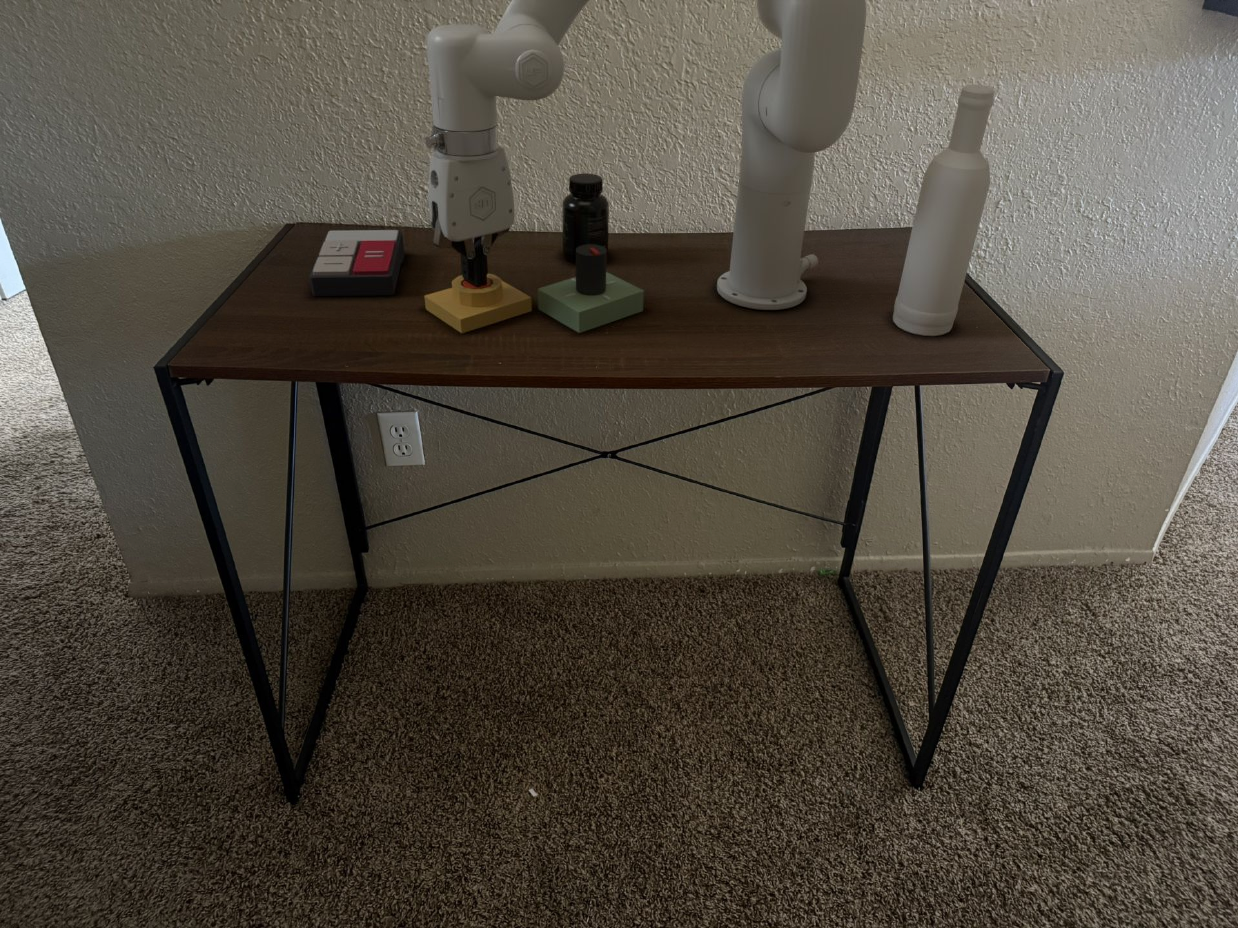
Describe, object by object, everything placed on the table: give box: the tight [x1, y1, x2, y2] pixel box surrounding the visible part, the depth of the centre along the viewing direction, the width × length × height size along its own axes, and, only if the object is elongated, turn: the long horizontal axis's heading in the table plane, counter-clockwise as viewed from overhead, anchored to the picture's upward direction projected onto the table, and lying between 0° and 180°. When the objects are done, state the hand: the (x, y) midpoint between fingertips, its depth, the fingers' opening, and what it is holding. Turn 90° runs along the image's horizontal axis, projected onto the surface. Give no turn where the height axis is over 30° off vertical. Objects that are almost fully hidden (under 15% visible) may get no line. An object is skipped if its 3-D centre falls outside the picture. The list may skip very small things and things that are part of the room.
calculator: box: [308, 229, 405, 297], centre depth 128 cm, size 11×4×15 cm
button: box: [463, 279, 491, 289], centre depth 119 cm, size 4×4×2 cm
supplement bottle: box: [562, 172, 610, 265], centre depth 134 cm, size 7×7×12 cm
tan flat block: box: [423, 273, 533, 334], centre depth 120 cm, size 11×9×4 cm
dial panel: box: [537, 271, 645, 334], centre depth 121 cm, size 11×9×3 cm
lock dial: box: [575, 244, 608, 295], centre depth 119 cm, size 4×4×6 cm
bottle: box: [892, 83, 996, 337], centre depth 113 cm, size 8×8×30 cm
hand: (475, 282), depth 119 cm, fingers closed
